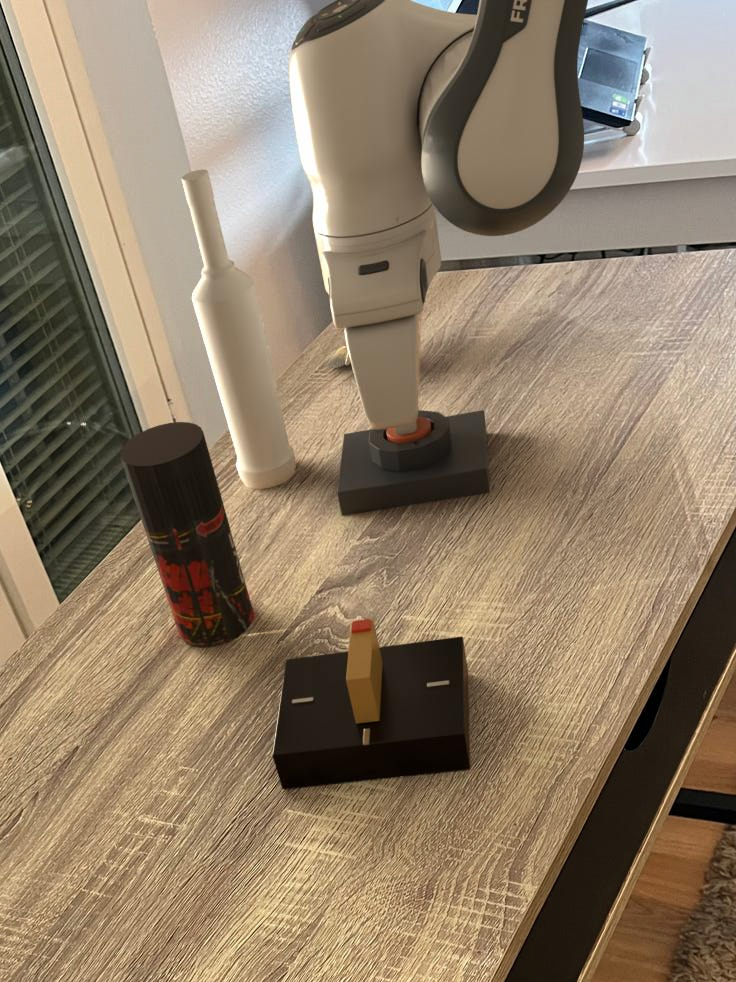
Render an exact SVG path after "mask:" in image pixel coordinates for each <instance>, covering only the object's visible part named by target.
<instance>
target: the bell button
mask: <svg viewBox="0 0 736 982" xmlns="http://www.w3.org/2000/svg"><path fill="white" fill-rule="evenodd" d="M430 433H431V425H430V422H429V420H428V419H426V418H423V417H418V418H417V429H416V431H415V432H414V433H411V434H404V435H398V434H396V432H395V430H394V428H387V431H386V434H387V439H388V442H390V443H399V444H402V443H408V442H414V441H417V440H419V439H422V438H424V437H426V436H428V435H429V434H430Z"/></svg>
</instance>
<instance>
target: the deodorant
mask: <svg viewBox="0 0 736 982" xmlns="http://www.w3.org/2000/svg"><path fill="white" fill-rule="evenodd" d="M119 457H120V459H121V463H122V465H123V469H124V472H125V475H126V478H127V481H128V484H129V487H130V490H131V492H132V497H133V499H134V502H135V505H136V508H137V510H138V514H139V517H140V520H141V523H142V526H143V530H144V532H145V535H146V538H147V542H148V544H149V547H150V551H151V553H152V556H153V560H154V563H155V565H156V568H157V571H158V574H159V577H160V581H161V584H162V587H163V589H164V593H165V595H166V598H167V602H168V604H169V608H170V611H171V613H172V617H173V620H174V623H175V627H176V628H177V632H178V635H179V637H180V639H181V640H182V641H183V642H184V643H185V644H188V645H189V646H192V647H196V648H197V647H198V648H211V647H217V646H221V645H223V644H227V643H230V642H232V641H234V640H235V639H238V638H239V637H241V636H242V634H244V633H245V632H246V631H247V630H248V629H249V627H251V625H252V623H253V621H254V618H255V613H254V608H253V605H252V601H251V598H250V595H249V591H248V586H247V583H246V581H245V576H244V573H243V569H242V566H241V562H240V558H239V554H238V552H237V548H236V544H235V540H234V537H233V533H232V530H231V526H230V523H229V520H228V519H229V518H228V516H227V512H226V509H225V505H224V501H223V497H222V494H221V490H220V488H219V483H218V480H217V476H216V472H215V469H214V465H213V461H212V458H211V455H210V451H209V448H208V444H207V441H206V436H205V433H204V431H203V429H202V427H201V426H199V425H198V424H196V423H193V422H187V421H175V422H168V423H163V424H159V425H155V426H153V427H150V428H147V429H145V430H143V431H141V432H139V433H137V434H136V435H134V436H133V437H131V438H130V439H129V440H128V441H127V442H125V443H124V445H123V446H122V447H121V449H120V453H119Z"/></svg>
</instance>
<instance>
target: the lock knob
mask: <svg viewBox="0 0 736 982" xmlns="http://www.w3.org/2000/svg"><path fill="white" fill-rule="evenodd" d="M348 639H349V642H348V663H347V674H346V682H347V687H348V691H349V695H350V700H351V704H352V708H353V713H354V717H355V721H356V724H358V723H366V722H375V721H379V720H380V701H381V683H382V664H383V663H382V658H381V653H380V649H379V647H380V644H379V639H378V635H377V629H376V623H375V621H374V620H373V619H371V618H367V619H359V620H352V622H351V623H350V628H349V638H348Z"/></svg>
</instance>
